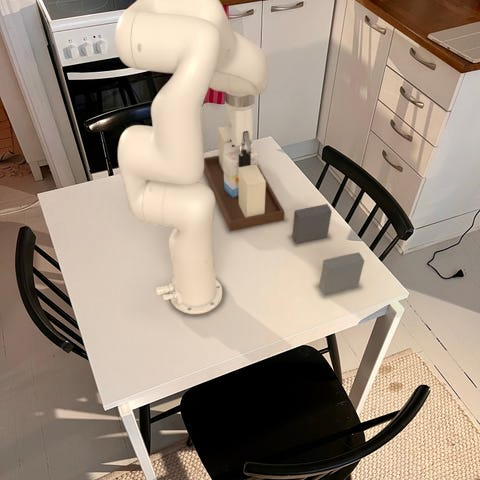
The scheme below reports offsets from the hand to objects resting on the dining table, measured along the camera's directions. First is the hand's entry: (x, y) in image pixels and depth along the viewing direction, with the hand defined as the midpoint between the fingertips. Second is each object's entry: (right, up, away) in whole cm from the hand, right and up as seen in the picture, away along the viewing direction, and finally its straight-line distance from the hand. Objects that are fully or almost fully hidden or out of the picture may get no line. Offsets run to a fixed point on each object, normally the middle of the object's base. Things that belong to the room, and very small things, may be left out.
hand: (240, 158), depth 139 cm
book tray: (0, -7, +9) cm, 11 cm away
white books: (0, -7, +9) cm, 11 cm away
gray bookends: (+21, -30, -10) cm, 38 cm away
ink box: (0, -7, +8) cm, 10 cm away
